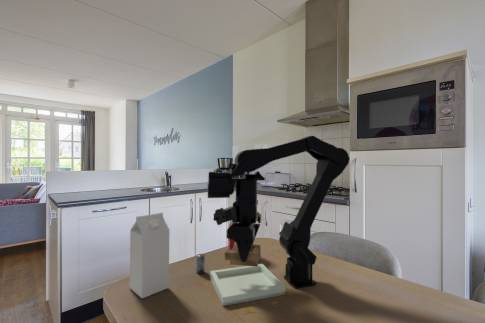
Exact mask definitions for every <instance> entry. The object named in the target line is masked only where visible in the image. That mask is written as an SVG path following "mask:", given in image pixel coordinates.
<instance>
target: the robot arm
mask: <svg viewBox="0 0 485 323" xmlns="http://www.w3.org/2000/svg"><path fill="white" fill-rule="evenodd" d="M305 152H306V153H308V154H309V155H310V156H311V158H313V159H315V160H316V161H317V162H316V165H315V166H316V168H315V170H316V171H315V172H316V174H315V177H314V178H313V180H312V183H311V184H310V186H309V188H308V189H309V190H308V191H307V193H306V195H305V197H304V199H303V201H302V203H301V206H300V208H299V209H298V212H297V214H296V216H295V217H294V220H292V221H291V222H290V223H289V222H287V221H285V222H284V223H283V226H282V229H281V230H280V232H278V235H279V239H278V241H279V244H280V246H281V248H282V249H283V250H284V251H285V253H286V254H287V256H289V257H287V258H286V263H285V270H284V271H285V275H283V279H285V280H286V281H287V282H288V283H289V284H290V285H291V286H292V287H293V288H295V289H300V288H304V287H305V288H306V287H310V286H316V284H317V283H316V281H315V280H313V265H315V263H316V262H317V261H316V260H317V255H316V254H315V253H314V252H313V251H312V250H310V248H309V246H310V241H311V230H312V229H311V228H312V225H313V223H314V221H315V219H316V217H317V215H318V213H319V211H320V209H321V207H322V205H323V202H324V200H325V198H326V196H327V194H328V192H329V190H330V188H331V185H332V184H333V182H334V180H336V179H337V178H338V177H340V176H341V174H342V173H344V171H345V169H346V168H347V166H348V165H349V163H350V158H351V157H350V156H349V153H348V151H347V149H346V150H345V149H344V148H342V147H337V146H335V145H334V144H331V143H328V142H326V141H324V140H322V139H320V138H318V137H317V136H315V135H309V136H305V137H302V138H300V139H296V140H292V141H289V142H286V143H282V144H279V145H276V146H271V147H268V148H256V149H255V148H254V149H253V148H252V149H245V150H242V151H240V152H238V153H236V154H235V157H234V163H233V165H232V166H231V167H230V168H229V170H228V171H227V172H216V171H215V172H214V171H209V172H208V177H207V178H208V180H207V181H208V182H207V199H224V198H225V199H229V198H230V197H231V195H233V194H234V193H235V201H234V202H233V203H232V206H228V207H225V208H223V207H220V208H219V209H216V210H215V211H214V212H215V213H213V221H214V222H216V224H217V226H221V225H222V224H223V223H227V222H230V220H232V222H234V223H233V224H232V225H231V226H230V227H229V226H228V227H229V228H227V229H226V239H227V240H228V239H232V240H234V241H235V242H236V244H237V247H238V251H239V255H240V259H241V262H246V259H247V257H248V254H249V251H250V249H251V246H252V245H254V242H255V239H256V237H257V235H258V231H259V229H260V227H261V222H262V214H261V213H260V212H259V211H258V204H259V200H258V181H266V180H265V179H266V178H265V177H264V176H263V175H262V174H261V173H260V171H257V170H259V169H260V168H263V167H264V166H266V165H268V164H270V163H271V162H273V161H277V160H281V159H284V158H288V157H291V156H294V155H298V154H302V153H305ZM254 171H255V172H254ZM251 172H254V173H251ZM241 176H242V177H241ZM237 222H239V223H237Z"/></svg>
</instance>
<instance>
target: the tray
mask: <svg viewBox="0 0 485 323" xmlns="http://www.w3.org/2000/svg"><path fill="white" fill-rule="evenodd" d="M209 272H210V273H209V274H210V275H209V278H210V281H211V283H212V285H213V287H214V288H213V289H214V290H215V292H216V294H217V297H218V299H219V302H220V303H221V305H222V307H226V306H227V307H228V306H230V305H236V304H237V305H238V304H241V303H242V304H243V303H247V302H253V301H257V300H263V299H268V298H273V297H278V296H283V295H286V285H285V284H284V283H283V282H282V281H281V280H279V279H278V277H276V276H275V275H274V273H272V272H271V270H270V269H268V267H266V266H265V265H264V264H263V263H258V266H257V267H255V266H243V265H242V266H236V267H230V268H224V269H223V268H222V269H216V270H210V271H209Z"/></svg>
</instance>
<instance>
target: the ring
mask: <svg viewBox="0 0 485 323" xmlns="http://www.w3.org/2000/svg"><path fill="white" fill-rule="evenodd" d="M261 248H262V247H261V244H253V245H252V246H251V249H250V251H249V254H248V257H247V259H246V262H241V259H240V255H239V251H238V247H237V244H235V246H234V247H233V249H232V250H228V249H225V252H224V260H225V261H229V265H231V266H242V267H243V266H255V267H257V266H258V264H260V259H261Z"/></svg>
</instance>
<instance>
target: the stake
mask: <svg viewBox="0 0 485 323" xmlns="http://www.w3.org/2000/svg"><path fill="white" fill-rule="evenodd" d="M205 262H206V260H205V254H203V253H198V254H196V262H195V263H196V265H195V266H196V268H195V269H196V270H195V271H196V272H195V273H196V275H203V274H205V265H206V264H205Z"/></svg>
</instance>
